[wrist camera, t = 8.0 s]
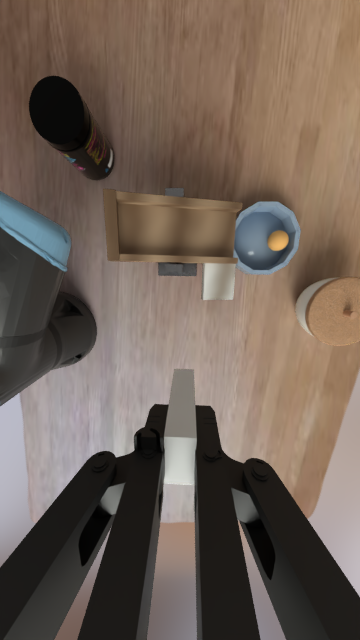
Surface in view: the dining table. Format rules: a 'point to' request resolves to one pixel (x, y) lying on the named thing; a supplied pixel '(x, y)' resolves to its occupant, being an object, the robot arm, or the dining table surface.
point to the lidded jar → (331, 310)
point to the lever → (175, 235)
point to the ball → (278, 240)
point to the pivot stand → (176, 268)
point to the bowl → (264, 237)
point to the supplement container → (70, 127)
